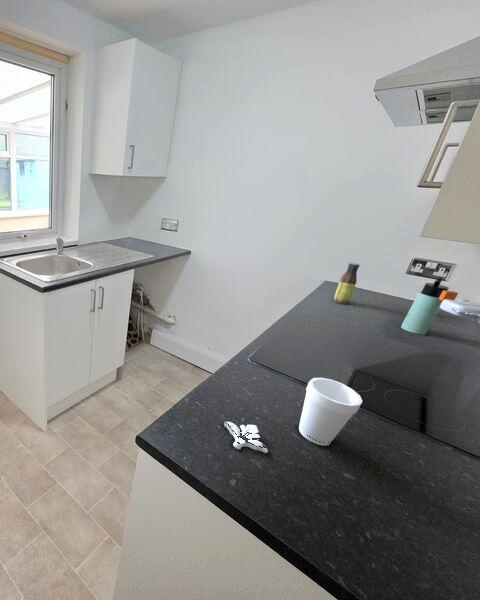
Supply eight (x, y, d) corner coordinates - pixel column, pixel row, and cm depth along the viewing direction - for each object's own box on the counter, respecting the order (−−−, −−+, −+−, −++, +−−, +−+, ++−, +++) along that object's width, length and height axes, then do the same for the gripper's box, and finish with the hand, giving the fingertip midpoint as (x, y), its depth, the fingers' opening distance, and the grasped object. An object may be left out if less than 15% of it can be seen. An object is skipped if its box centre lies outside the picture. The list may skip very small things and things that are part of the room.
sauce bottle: (351, 304, 154) (367, 266, 146) (340, 304, 153) (356, 265, 145) (339, 299, 160) (354, 262, 152) (328, 299, 159) (343, 262, 151)
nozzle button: (453, 302, 117) (458, 293, 116) (442, 300, 118) (446, 291, 116) (449, 300, 119) (454, 291, 117) (438, 298, 119) (443, 290, 118)
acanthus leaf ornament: (223, 425, 75) (225, 419, 74) (252, 427, 75) (254, 421, 74) (235, 450, 68) (238, 444, 67) (267, 453, 68) (270, 447, 67)
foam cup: (287, 434, 73) (306, 390, 68) (294, 414, 80) (312, 372, 75) (337, 458, 68) (361, 412, 63) (340, 434, 74) (363, 391, 69)
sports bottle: (431, 336, 126) (462, 282, 117) (409, 333, 127) (438, 279, 118) (416, 327, 133) (444, 275, 124) (396, 324, 134) (422, 273, 125)
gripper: (455, 322, 103) (423, 305, 115) (532, 331, 99) (490, 313, 112) (466, 304, 100) (432, 290, 113) (545, 313, 97) (501, 297, 109)
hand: (461, 301), depth 112 cm, fingers closed
